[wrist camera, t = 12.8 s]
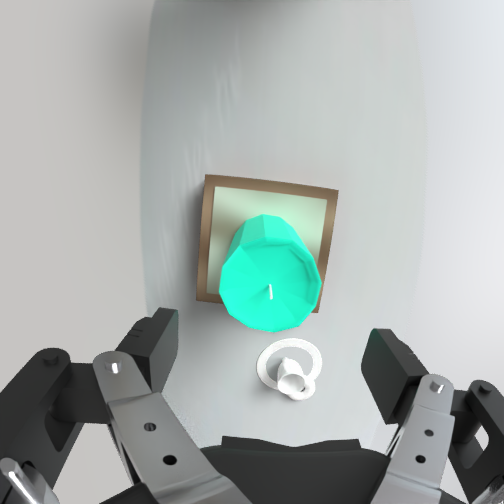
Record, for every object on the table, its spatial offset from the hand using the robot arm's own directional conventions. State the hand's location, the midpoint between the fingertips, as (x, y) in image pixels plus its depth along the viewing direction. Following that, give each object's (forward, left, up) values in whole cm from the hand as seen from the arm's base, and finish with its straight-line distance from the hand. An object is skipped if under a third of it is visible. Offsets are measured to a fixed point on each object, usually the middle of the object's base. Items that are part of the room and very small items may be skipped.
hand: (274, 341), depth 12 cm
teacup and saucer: (+18, +3, -21) cm, 28 cm away
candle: (0, 0, -17) cm, 17 cm away
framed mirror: (0, 0, -20) cm, 20 cm away
